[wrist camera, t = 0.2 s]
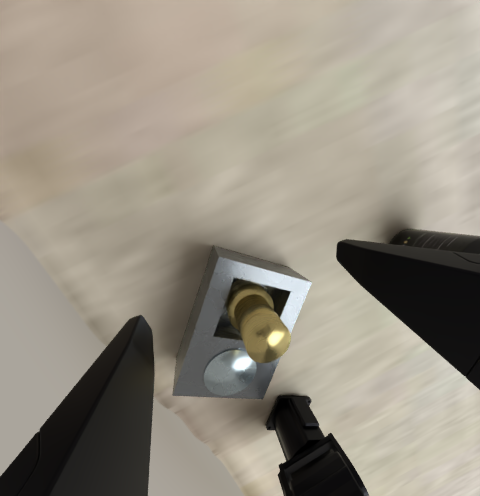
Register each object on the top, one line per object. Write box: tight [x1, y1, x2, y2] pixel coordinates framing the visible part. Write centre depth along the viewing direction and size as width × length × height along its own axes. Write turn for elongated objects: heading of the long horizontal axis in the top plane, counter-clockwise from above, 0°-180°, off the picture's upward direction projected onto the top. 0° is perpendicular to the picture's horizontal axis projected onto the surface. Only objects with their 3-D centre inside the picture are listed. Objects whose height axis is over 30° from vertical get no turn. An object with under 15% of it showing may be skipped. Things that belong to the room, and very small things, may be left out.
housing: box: [173, 246, 312, 399], centre depth 23 cm, size 16×11×5 cm
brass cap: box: [225, 279, 291, 363], centre depth 20 cm, size 5×5×8 cm
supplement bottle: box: [390, 229, 480, 254], centre depth 24 cm, size 7×7×12 cm
